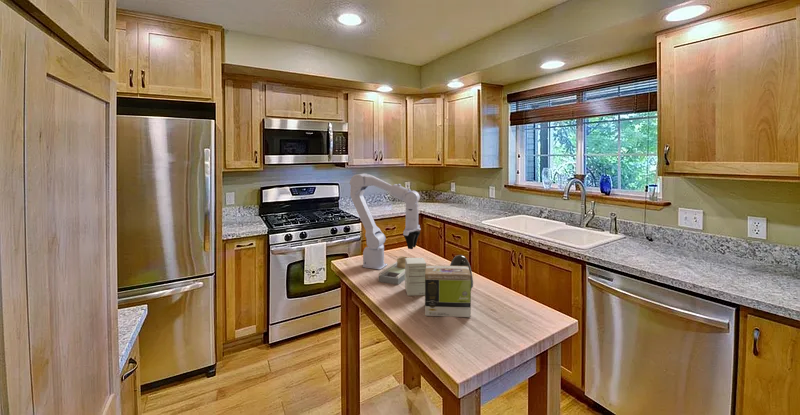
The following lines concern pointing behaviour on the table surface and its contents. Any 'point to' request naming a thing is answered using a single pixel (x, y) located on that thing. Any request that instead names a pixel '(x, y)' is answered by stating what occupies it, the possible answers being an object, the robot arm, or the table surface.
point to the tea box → (447, 291)
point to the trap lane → (392, 274)
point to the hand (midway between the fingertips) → (411, 247)
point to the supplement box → (415, 276)
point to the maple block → (401, 262)
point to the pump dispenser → (462, 264)
